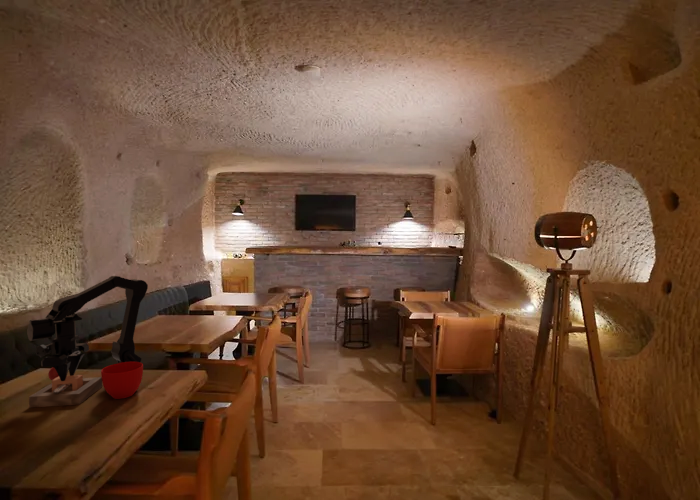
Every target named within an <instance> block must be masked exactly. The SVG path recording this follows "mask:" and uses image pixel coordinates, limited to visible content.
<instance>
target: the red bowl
mask: <svg viewBox="0 0 700 500" xmlns="http://www.w3.org/2000/svg"><path fill="white" fill-rule="evenodd" d="M100 372H101V373H100V377H102V387H103V388H104V390H105V391H106V393H107V394H108V395H109V396H111V397H112V398H113V399H115V400H116V399H117V400H120V399H125V398H129V397H132V396H133V395H134V394H135V392H137V390H138V389H139V387H140V385H141V383H142V381H143V380H142V379H143V374H144V364H143V363H142V362H123V363H118V362H117V363H114V364H110V365H107V366H105V367H103V368H102V369H100Z"/></svg>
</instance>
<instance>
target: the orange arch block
mask: <svg viewBox="0 0 700 500" xmlns="http://www.w3.org/2000/svg"><path fill="white" fill-rule="evenodd" d="M83 378H84V375H83V374H77V375H75V374H74V375H73V376H70V375H67V377H66V379H65V381H61V380H60V377H57V378H55V379H53V380H51V383H52V392H53V391H54V390H55V389H57V388H58V387H60V386H61V385H63V384H72V391H77V390H78V389H79V388H81V387H82V386H83ZM61 392H64V390H62V391H61Z"/></svg>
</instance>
